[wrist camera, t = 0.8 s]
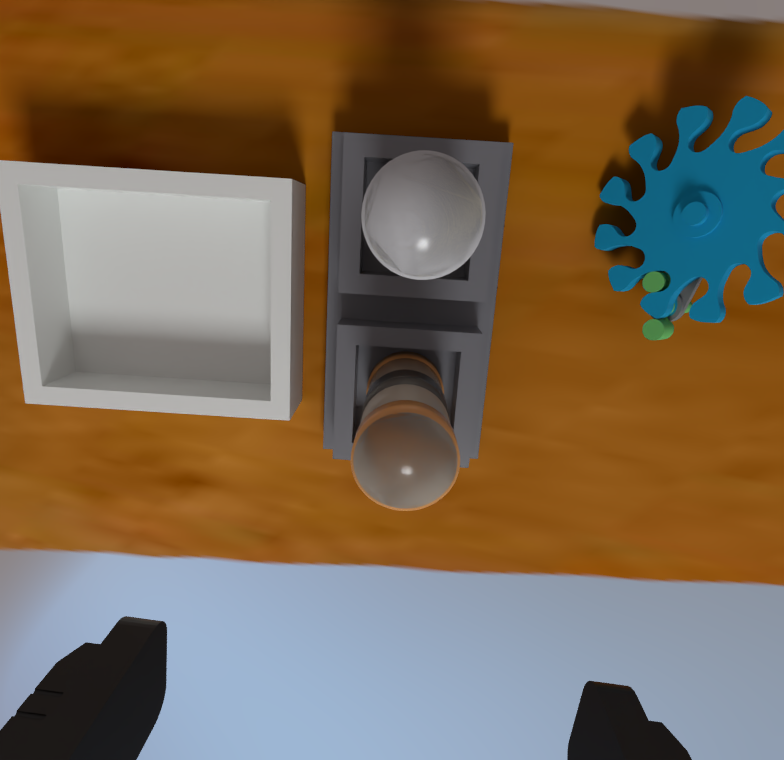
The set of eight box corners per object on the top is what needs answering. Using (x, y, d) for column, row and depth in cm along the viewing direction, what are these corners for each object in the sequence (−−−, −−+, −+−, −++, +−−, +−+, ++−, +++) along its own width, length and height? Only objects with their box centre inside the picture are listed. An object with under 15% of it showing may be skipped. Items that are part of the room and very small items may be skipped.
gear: (642, 77, 26) (898, 113, 19) (685, 109, 30) (908, 147, 24) (551, 297, 30) (737, 382, 24) (600, 298, 34) (769, 372, 28)
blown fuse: (445, 353, 30) (465, 413, 20) (439, 425, 31) (454, 514, 21) (369, 348, 30) (352, 406, 20) (365, 420, 31) (348, 507, 21)
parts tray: (305, 184, 29) (292, 178, 25) (301, 399, 32) (289, 420, 28) (43, 168, 29) (-6, 159, 25) (66, 384, 32) (25, 403, 29)
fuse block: (335, 135, 28) (326, 123, 25) (508, 146, 28) (521, 136, 25) (326, 440, 33) (318, 462, 30) (474, 450, 33) (482, 473, 29)
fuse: (461, 180, 27) (492, 154, 18) (453, 264, 28) (478, 283, 19) (378, 175, 27) (364, 146, 18) (374, 259, 29) (358, 276, 19)
